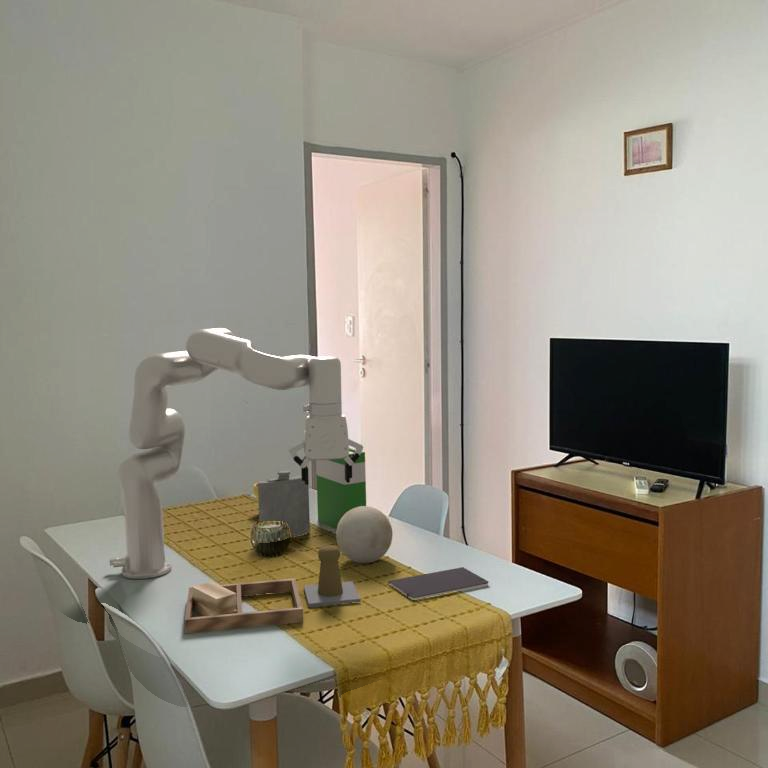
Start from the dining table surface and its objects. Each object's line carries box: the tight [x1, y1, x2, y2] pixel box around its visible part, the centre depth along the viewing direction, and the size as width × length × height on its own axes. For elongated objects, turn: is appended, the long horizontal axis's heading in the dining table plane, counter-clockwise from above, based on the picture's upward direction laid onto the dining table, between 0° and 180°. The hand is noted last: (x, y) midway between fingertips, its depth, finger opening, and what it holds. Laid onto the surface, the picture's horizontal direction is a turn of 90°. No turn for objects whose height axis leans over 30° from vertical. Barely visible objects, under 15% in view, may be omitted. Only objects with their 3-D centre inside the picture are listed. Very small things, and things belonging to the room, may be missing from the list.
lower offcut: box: [193, 600, 237, 617], centre depth 182 cm, size 6×14×3 cm, turn 29°
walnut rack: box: [184, 578, 304, 634], centre depth 184 cm, size 25×20×3 cm
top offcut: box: [192, 581, 237, 612], centre depth 182 cm, size 5×11×3 cm, turn 41°
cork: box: [317, 545, 343, 597], centre depth 191 cm, size 6×6×11 cm
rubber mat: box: [303, 581, 362, 608], centre depth 192 cm, size 12×12×1 cm
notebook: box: [388, 566, 490, 600], centre depth 197 cm, size 13×2×21 cm
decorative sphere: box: [335, 505, 394, 564], centre depth 216 cm, size 15×15×15 cm
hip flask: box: [257, 469, 311, 538], centre depth 240 cm, size 16×4×20 cm, turn 121°
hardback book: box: [315, 447, 367, 531], centre depth 251 cm, size 18×7×24 cm, turn 33°
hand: (327, 482), depth 189 cm, fingers open, 9 cm apart
